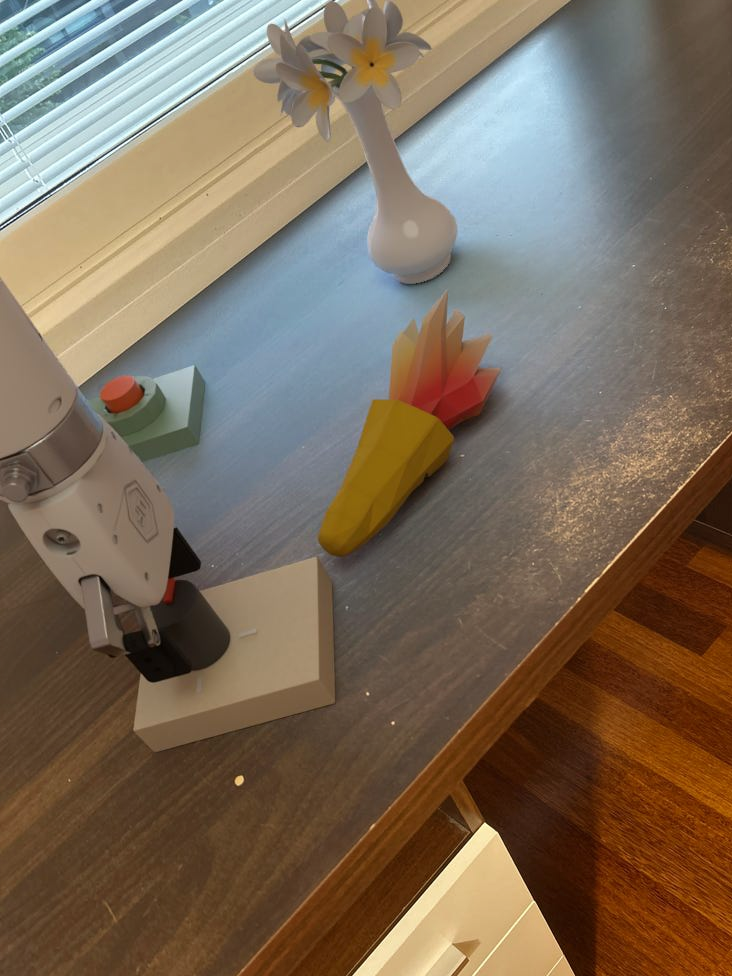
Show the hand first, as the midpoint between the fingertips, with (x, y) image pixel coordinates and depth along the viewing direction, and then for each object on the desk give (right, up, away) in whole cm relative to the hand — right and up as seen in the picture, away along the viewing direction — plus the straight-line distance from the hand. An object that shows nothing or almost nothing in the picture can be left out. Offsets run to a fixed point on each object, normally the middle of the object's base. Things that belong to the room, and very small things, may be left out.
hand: (177, 621), depth 73 cm
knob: (+1, -2, +2) cm, 3 cm away
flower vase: (+15, +37, +32) cm, 51 cm away
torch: (+16, +13, +13) cm, 25 cm away
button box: (-11, +19, +28) cm, 36 cm away
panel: (+4, -3, +4) cm, 7 cm away
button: (-12, +21, +25) cm, 35 cm away
